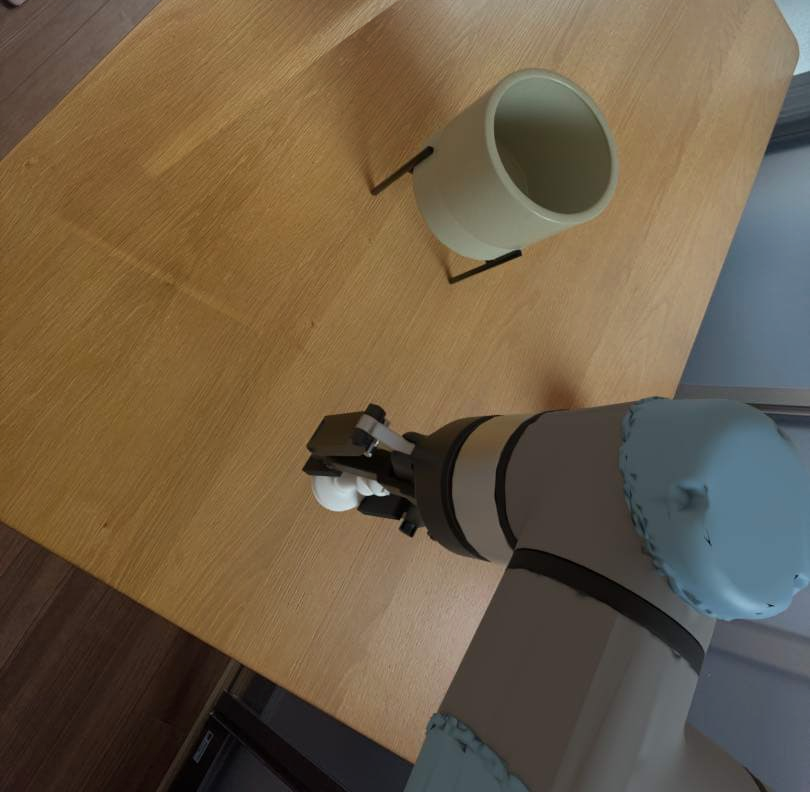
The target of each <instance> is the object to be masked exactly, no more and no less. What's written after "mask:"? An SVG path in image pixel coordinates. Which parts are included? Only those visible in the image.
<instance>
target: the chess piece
mask: <svg viewBox="0 0 810 792" xmlns="http://www.w3.org/2000/svg"><path fill="white" fill-rule="evenodd" d="M310 487H311V491H312V494H313V496H314V498H315V499H316V501H317V502H318V503H319V504H320V505H321V506H322V507H323V508H325V509H327V510H328V511H333V512H345V511H349V510H352V509H354V508H355V507H358V506H359V504H360V503H361V501H362V500H363V499H364V497H365V496H369V495H373V494H375V495H377V496H385V495H389V493H390V492H388V491H387V490H386V489H385V488H384V487H382V486H381V485H380V484H379V483H378V482H377V481H374V480H371V479H367V478H364V477H360V476H356V475H353V474H349V473H346V472H343V473H342V475H341V476H340V477H328V476H312V475H310Z"/></svg>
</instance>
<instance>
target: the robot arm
mask: <svg viewBox="0 0 810 792" xmlns="http://www.w3.org/2000/svg"><path fill="white" fill-rule="evenodd" d="M386 416H387V412H386V411H385V409H384V408H383V407H382V406H381V405H379V404H375V403H371V402H370V403H368V405H367V407H366V408H365V409H364V410H362V411H361V410H359V411H352V412H343V413H335V414H328V415H324V417H323V418H322V419H321V421H320V423H319V424H318V426H317V427H316V429H315V431H314V432H313V433H312V435H311V436H310V439H309V440H308V442H307V443H306V445H305V448H306V450H308V452H309V453H311V454H310V455H309V457H308V459H307V460H306V461H305V463H304V465H303V467H302V468H301V471H302V472H303V473H305V474H306V475H308V476H311V475H312V476H328V477H340V476H341V475H342V473H343V472H346V473H349V474H353V475H356V476H360V477H364V478H367V479H371V480H374V481H377V482H378V483H379V484H380V485H381V486H382V487H384V488H385V489H386V490H387V491H388V492H390V493H389V495H385V496H377V495H375V494H373V495H369V496H365V497H364V499H363V500H362V501H361V502H360V503H359V504H358V505H357V508H356V510H357V511H358V512H359V513H361V514H362V515H364V516H369V517H376V518H383V519H388V520H394V521H398V522H399V521H401V520H402V521H401V523H400V525H399V527H398V531H399V532H401V533H402V534H404V536H407V537H409V538H412V539H413V538H414V537H415V535H416V533H417V530H418V529H421V528H426V530H427V531H426V535H427V536H428V537H429V539H430V540H431V541H432V542H437V543H438V544H439V545H440V546H441V547H442V548H444V549H446V550H447V551H449V552H451V553H453V554H455V555H457V556H460V557H465V558H468V559H473V560H478V561H483V562H488V563H492V564H495V565H498V566H501V567H504V568H505V569H504V572H503V574H502V576H501V578H500V580H499V582H498V585H497V587H496V588H495V591H494V593H493V595H492V597H491V599H490V601H489V603H488V605H487V608H486V609H485V612H484V614H483V615H482V618H481V620H480V622H479V624H478V626H477V628H476V630H475V631H474V635H473V636H472V638H471V640H470V642H469V645H468V646H467V649H466V650H465V653H464V655H463V657H462V659H461V661H460V663H459V665H458V667H457V670H456V671H455V673H454V676H453V678H452V680H451V681H450V684H449V686H448V688H447V690H446V692H445V694H444V697H443V698H442V701H441V703H440V705H439V707H438V709H437V710H436V712H433V713H432V715H431V716H430V717H429V720H428V721H427V724H426V727H425V730H426V731H425V735H424V736H425V737H424V740H423V743H422V745H421V747H420V750H419V753H418V755H417V758H416V760H415V763H414V765H413V768H412V770H411V773H410V775H409V777H408V780H407V782H406V785H405V787H404V789H403V792H777V791H776V790H774V789H773V788H771V786H769V785H768V784H766V783H765V782H764V781H762V780H761V779H760V778H758V777H757V776H755V775H754V773H752V772H751V771H750V769H749V768H747V767H746V766H744V765H743V764H742V763H741V762H739V761H738V760H737V759H736V758H735V757H734V756H733V755H732V754H730V753H729V752H728V751H727V750H725V749H724V748H723V747H722V746H721V745H719V744H717V743H716V742H715V741H713V739H712V738H710V737H708V736H707V735H705V734H704V733H703V732H702V731H701V730H699V729H698V728H696V727H695V726H694V725H693V724H691V723H690V722H689V721H687V717H688V714H689V711H690V708H691V705H692V701H693V698H694V694H695V691H696V688H697V685H698V682H699V678H700V674H701V671H702V667H703V663H704V660H705V657H706V654H707V652H708V649H709V646H710V643H711V641H712V636H713V634H714V630H715V626H716V625H717V620H723V621H726V622H731V621H733V620H737V619H739V620H740V619H741V620H764V619H769V618H772V617H776V616H777V615H779V614H780V613H782V612H784V611H786V610H788V608H789V607H790V606H791V604H792V603H793V597H794V596H796V595H797V594H798V592H800V591H801V590H803V589H805V588H806V587H808V585H809V583H810V470H809V468H808V465H807V463H806V462H805V459H804V457H803V456H802V454H801V452H800V450H799V449H798V448H797V445H796V444H795V443H794V441H793V440H792V439H791V436H789V435H788V434H787V433H786V432H785V431H784V430H783V429H782V428H781V427H779V425H777V423H776V422H775V421H774V420H773V419H772V418H771V417H769V416H768V415H766V413H764V412H763V411H761V410H760V409H758V408H756V407H754V406H753V405H750V404H747V403H745V402H742V401H739V400H733V399H729V398H670V397H665V396H658V395H656V396H655V395H653V396H648V397H644V398H640V399H639V400H633V401H626V402H619V403H612V404H611V403H610V404H606V405H599V406H592V407H584V408H574V409H573V408H572V409H569V408H565V409H563V408H562V409H555V410H553V409H551V410H545V411H541V412H540V411H539V412H524V413H511V414H490V415H480V416H479V415H478V416H477V415H476V416H469V417H467V416H466V417H462V418H458V419H455V420H453V421H450V422H448V423H446V424H445V425H443V426H442V427H440V428H438V429H436V430H435V431H433V432H432V433H430V434H428V435H426V434H422V433H420V432H417V431H406V432H404V433H403V434H402V435H401V434H399V433H398V432H396V431H394V430H392V429H391V428H389V427H390V425H391V421H390V420H389V419H388V418H387V417H386Z"/></svg>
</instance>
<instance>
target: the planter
mask: <svg viewBox="0 0 810 792" xmlns="http://www.w3.org/2000/svg"><path fill="white" fill-rule="evenodd" d="M617 147H618V146H617V143H616V139H615V136H614V133H613V130H612V127H611V125H610V124H609V121H608V120H607V118H606V116H605V114H604V112H603V110H601V108H600V106H599V105H598V104H597V102H596V101H595V100H594V99H593V97H591V95H590V94H588V92H587V91H586V90H584V88H583V87H581V86H580V85H579V84H578V83H576V82H575V81H574V80H572V79H571V78H569V77H567V76H565V75H563V74H561V73H559V72H557V71H553V70H551V69H546V68H541V67H527V68H522V69H521V68H520V69H518V70H515V71H513V72H511V73H509V74H507V75H506V76H504V77H503V78H502V79H501V80H500V81H498V82H497V83H496V84H494V85H492V87H491V88H489V89H488V90H487V91H486V92H484V93H483V94H482V95H480V96H479V97H478V98H477V99H476V100H474V101H473V102H472V103H470V104H469V105H468V106H467V107H465V108H464V109H463V110H462V111H460V112H459V113H458V114H457V115H456V116H454V117H453V118H452V119H450V120H449V121H448V122H447V123H445V124H444V125H442V127H441V128H439V129H438V130H437V131H435V132H434V133H433V134H431V136H430V137H428V138H427V139H426V141H424V143H423V144H422V146H421V147H420V148H419V151H418V153H417V154H416V155H414V156H413V157H412V158H410V159H409V160H408V161H406V163H404V164H403V165H402V166H401V167H399V168H398V169H396V170H395V171H394V172H393V173H391V174H390V175H389V176H388V177H386V178H385V179H384V180H382V181H381V182H379V184H377V185H376V186H375V187H373V188H371V193H370V194H371V195H372V196H375V197H377V196H378V195H379V194H381V193H382V192H383V191H384V190H386V189H387V188H389V187H390V186H391V185H392V184H394V183H395V182H396V181H398V180H399V179H400V178H401V177H403V176H404V175H405V174H407V173H409V174H410V175H412V190H413V195H414V199H415V203H416V207H417V209H418V212H419V214H420V216H421V218H422V220H423V222H424V223H425V225H426V227H427V228H428V229H429V231H430V232H431V233H432V234H433V235H434V237H436V239H437V240H439V242H441V244H443V246H445V247H447V248H448V249H449V250H451V251H452V252H454V253H456V254H458V255H460V256H462V257H465V258H467V259H472V260H478V261H484V262H485V263H484V264H481V265H478V266H477V267H474V268H471V269H470V270H467V271H465V272H463V273H460V274H458V275H455V276H453V277H451V278H449V279H448V281H449V284H450V285H455V284H457V283H461V282H463V281H465V280H467V279H469V278H472V277H475V276H477V275H480V274H481V273H484V272H486V271H489V270H492V269H494V268H496V267H499V266H500V265H501V266H502V265H503V264H505V263H509V262H510V261H514V260H515V259H518V258H520V257H523V252H522V250H523V249H525V248H528V247H530V246H533V245H534V244H537V243H540V242H542V241H544V240H547V239H548V238H551V237H553V236H556V235H558V234H561V233H562V232H565V231H567V230H570V229H572V228H575V227H576V226H580V225H582V224H585V223H586V222H589V221H591V220H593V219H594V218H596V217H598V215H600V214H601V213H602V212H604V211H605V209H606V208H607V206H608V205H609V204H610V202H611V200H612V198H613V196H614V194H615V192H616V189H617V185H618V181H619V180H618V179H619V172H620V171H619V169H620V162H619V161H620V159H619V153H618V148H617Z"/></svg>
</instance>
